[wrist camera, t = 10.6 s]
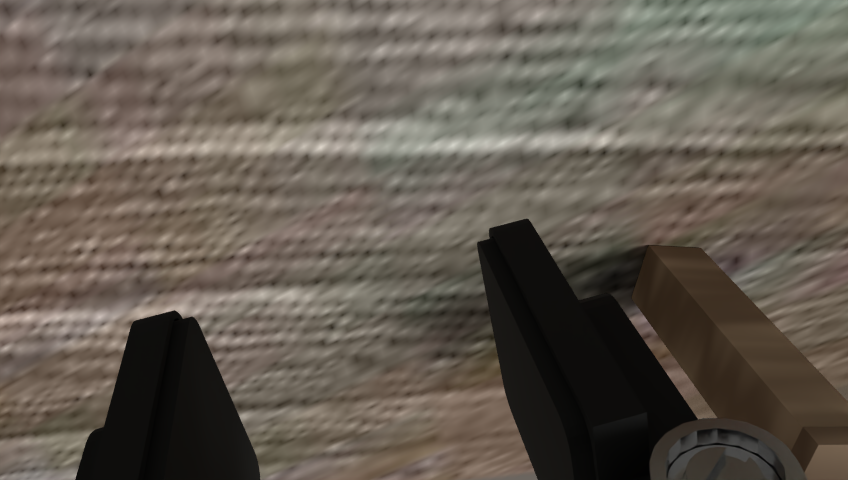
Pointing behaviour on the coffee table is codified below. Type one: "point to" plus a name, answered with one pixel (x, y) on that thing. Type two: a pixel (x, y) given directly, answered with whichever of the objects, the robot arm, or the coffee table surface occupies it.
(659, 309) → the gate posts
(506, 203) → the coffee table surface
